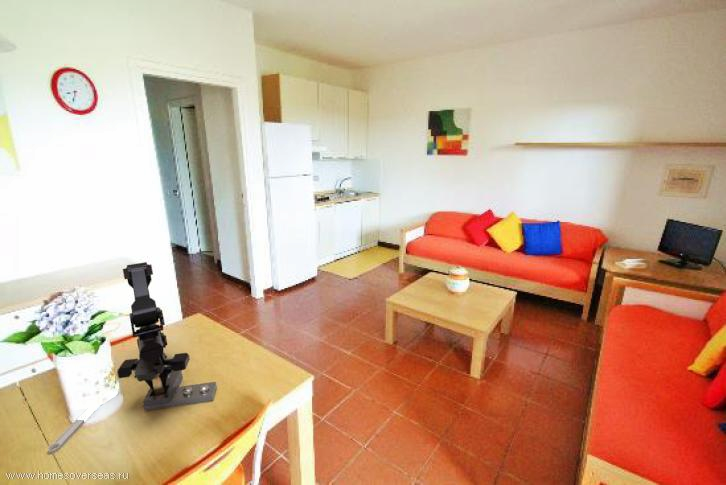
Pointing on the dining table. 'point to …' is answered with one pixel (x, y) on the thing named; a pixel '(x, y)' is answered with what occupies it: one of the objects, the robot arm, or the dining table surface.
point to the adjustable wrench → (65, 436)
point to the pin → (158, 385)
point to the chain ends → (179, 393)
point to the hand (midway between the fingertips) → (159, 387)
